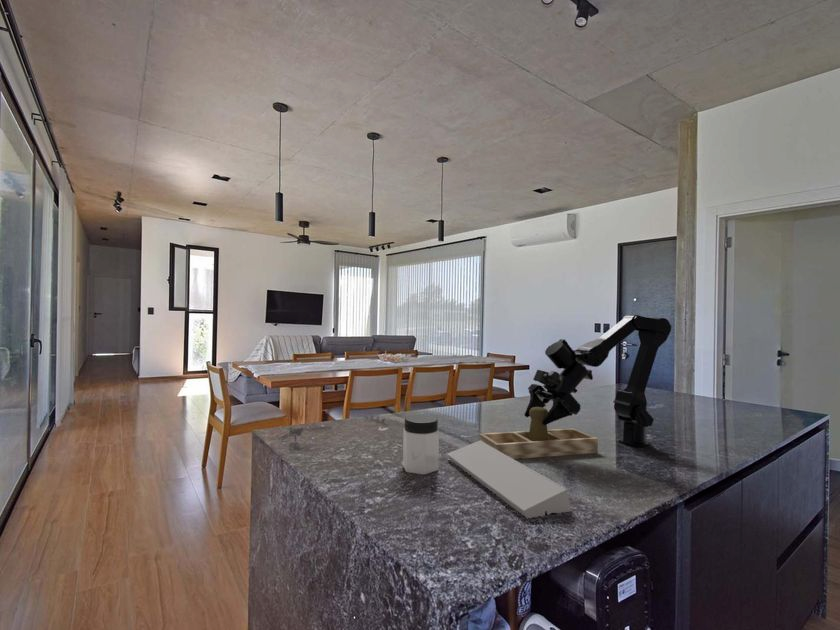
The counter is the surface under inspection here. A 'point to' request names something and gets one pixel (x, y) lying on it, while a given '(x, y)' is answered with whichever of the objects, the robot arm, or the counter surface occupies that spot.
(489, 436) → the spice rack
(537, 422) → the olive pepper mill
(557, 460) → the counter surface
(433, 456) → the jar
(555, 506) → the decorative molding
